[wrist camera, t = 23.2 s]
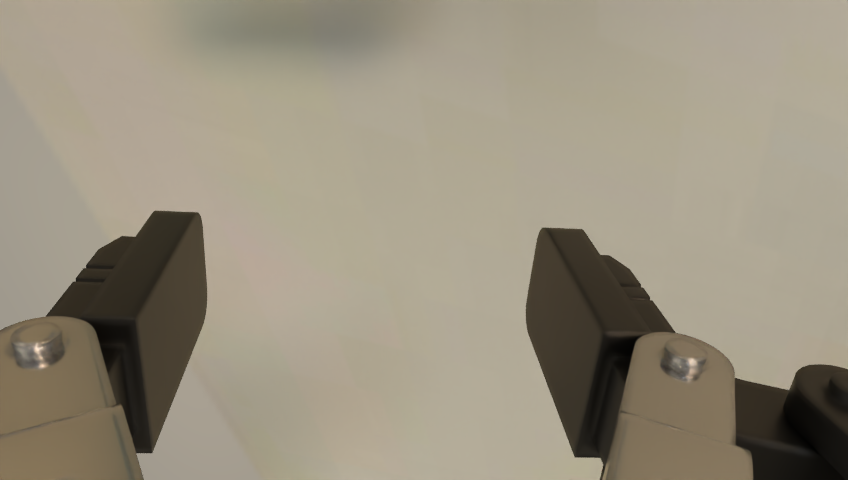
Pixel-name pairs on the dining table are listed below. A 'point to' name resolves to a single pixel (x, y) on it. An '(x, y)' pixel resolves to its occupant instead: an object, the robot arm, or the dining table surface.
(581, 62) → the dining table surface
